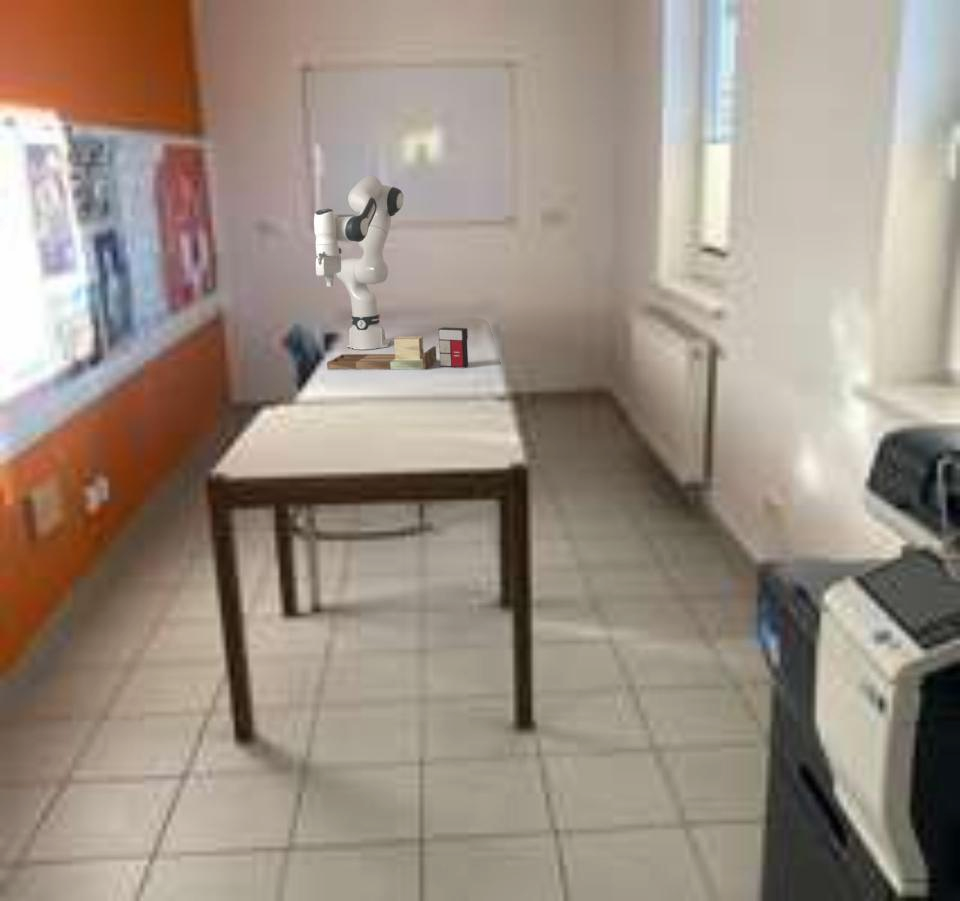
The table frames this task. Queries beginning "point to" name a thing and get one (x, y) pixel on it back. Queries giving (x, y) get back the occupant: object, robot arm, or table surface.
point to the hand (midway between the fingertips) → (330, 286)
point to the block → (408, 348)
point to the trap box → (381, 361)
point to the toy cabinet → (453, 347)
